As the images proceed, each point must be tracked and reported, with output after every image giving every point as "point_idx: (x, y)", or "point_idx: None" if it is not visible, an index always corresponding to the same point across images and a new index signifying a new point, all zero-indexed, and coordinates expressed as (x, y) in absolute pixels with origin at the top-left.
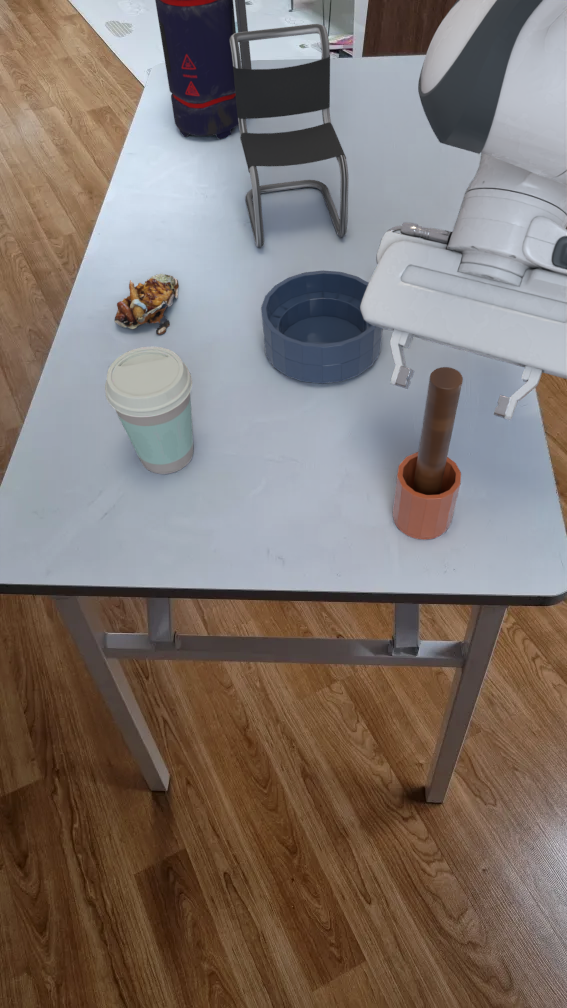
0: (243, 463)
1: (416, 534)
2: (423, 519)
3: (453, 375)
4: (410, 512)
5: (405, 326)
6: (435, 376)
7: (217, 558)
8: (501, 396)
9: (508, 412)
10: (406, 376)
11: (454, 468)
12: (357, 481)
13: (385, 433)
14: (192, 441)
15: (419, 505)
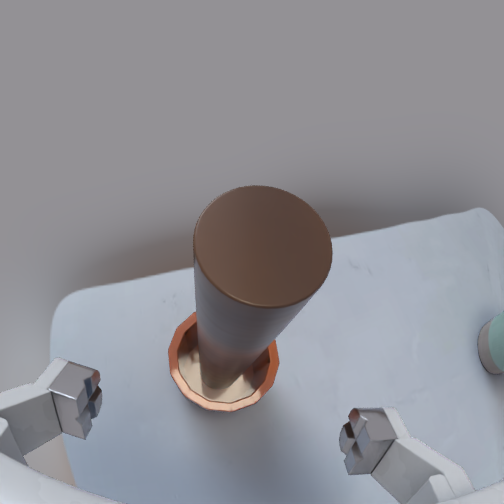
0: (441, 371)
1: None
2: None
3: (239, 257)
4: None
5: (472, 499)
6: (310, 235)
7: (403, 252)
8: (73, 396)
9: (60, 364)
10: (368, 424)
11: (183, 381)
12: (318, 403)
13: (306, 496)
14: (492, 355)
15: None
